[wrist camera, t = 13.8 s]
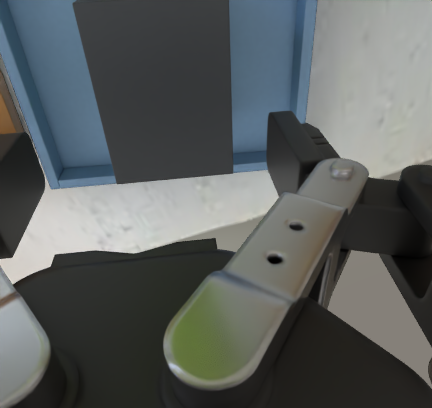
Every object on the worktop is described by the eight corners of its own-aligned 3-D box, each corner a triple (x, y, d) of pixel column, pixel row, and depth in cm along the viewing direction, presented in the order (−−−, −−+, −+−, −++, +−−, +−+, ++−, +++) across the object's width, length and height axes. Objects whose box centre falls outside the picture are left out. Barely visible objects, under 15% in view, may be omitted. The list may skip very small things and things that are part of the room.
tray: (58, 173, 25) (50, 189, 23) (-29, -78, 17) (-50, -79, 15) (292, 152, 25) (300, 167, 24) (313, -97, 17) (328, -101, 16)
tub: (128, 131, 23) (116, 184, 18) (98, -16, 18) (71, 2, 13) (220, 123, 23) (233, 173, 18) (214, -23, 18) (228, -9, 14)
